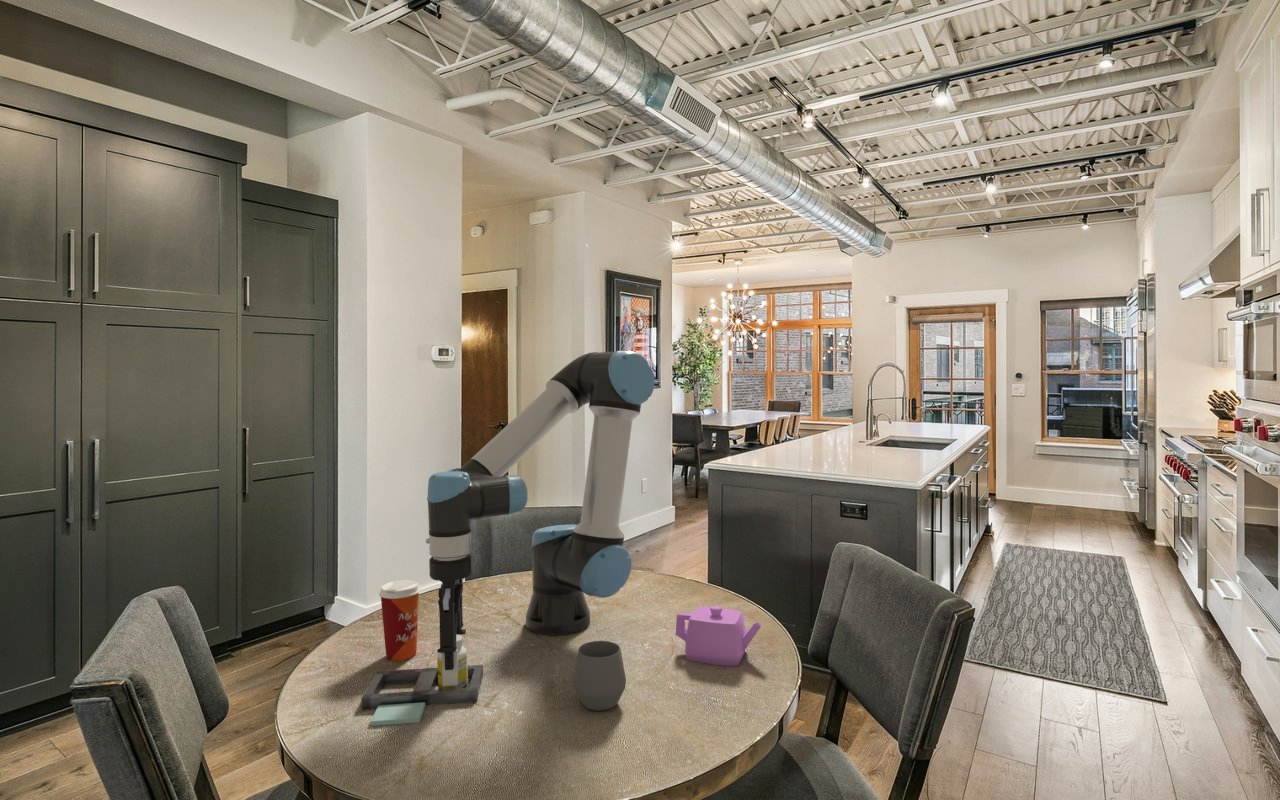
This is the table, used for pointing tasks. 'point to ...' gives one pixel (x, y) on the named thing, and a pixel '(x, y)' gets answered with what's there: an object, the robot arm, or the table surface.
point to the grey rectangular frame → (420, 688)
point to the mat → (398, 714)
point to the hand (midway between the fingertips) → (452, 677)
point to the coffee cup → (400, 618)
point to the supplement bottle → (461, 666)
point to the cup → (599, 675)
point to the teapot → (715, 635)
